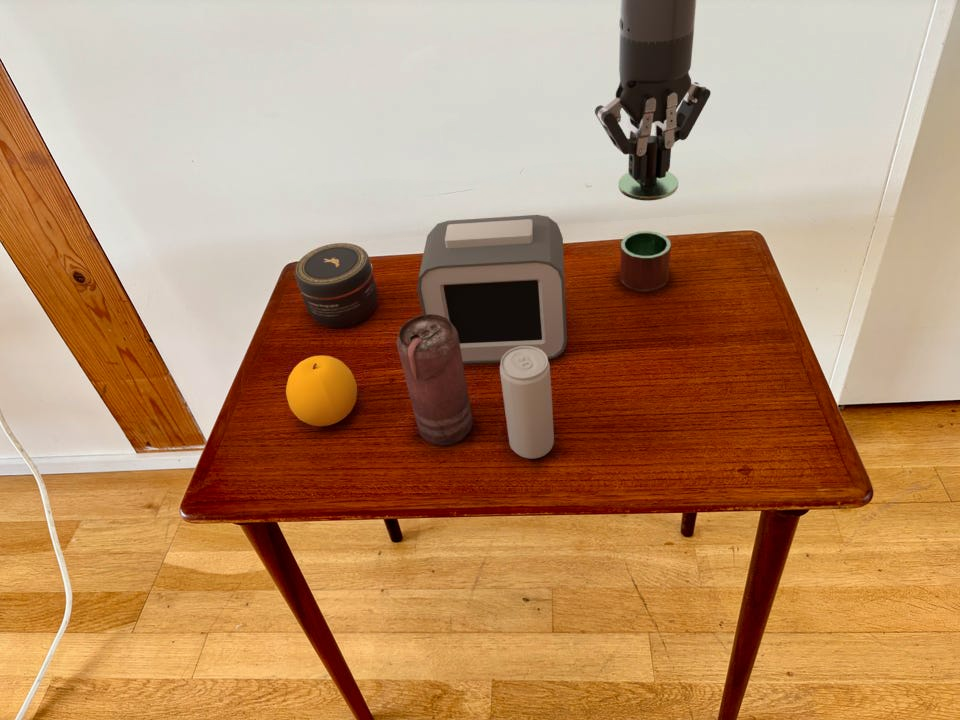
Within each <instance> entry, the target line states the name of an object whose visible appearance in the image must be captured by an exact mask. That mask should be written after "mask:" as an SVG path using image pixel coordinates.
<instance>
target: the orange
mask: <svg viewBox="0 0 960 720" xmlns="http://www.w3.org/2000/svg"><path fill="white" fill-rule="evenodd" d="M286 382H287V383H286V387H285V388H286V389H285V395H286V400H287V402H288V406H289V408H290V411H291V412H292V413H293V414H294V415H295V416H296V418H297V419H298V420H300V421H301V422H304V423H306V424H307V425H310V426H315V427H327V426H331V425H334V424H337V423H339V422H340V421H342V420H343V419H345V418H346V417H347V416H348V415H349V414H350V413H352V410H353V408H354V406H355V405H356V403H357V395H358V385H357V381H356V378H355V376H354V374H353V372H352V370H351V369H350V368H349V367H348V365H346V364H345V363H344V362H343V361H342V360H340V359H338V358H336V357H333V356H331V355H313V356H310V357H307V358H305V359H303V360H302V361H300V362H299V363H298V364H297V365H296V366H295V367H294V368H293V369H292V371H291V372H290V374H289V375H288V379H287V381H286Z"/></svg>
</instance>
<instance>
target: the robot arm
mask: <svg viewBox="0 0 960 720" xmlns="http://www.w3.org/2000/svg"><path fill="white" fill-rule="evenodd" d="M619 7H620V8H619V10H620V11H619V21H618V28H619V51H618V52H619V55H618V57H619V58H618V59H619V60H618V71H619V72H618V73H619V84H618V86H617V89H616V91H615V98H613V100H611V101H610V102H609V103H608V104H606V105H605V106H604V105H602V104H600V105H598V106H596V107H595V109H594V115H595V116H596V118H597V119H598V121H599V123H600V125H601V126H602V128H603V129H604V131H605V132H606V134H607V136H608V138H609V139H610V141H611V142H612V144H613V146H614V147H616V148H617V150H619V151H620V152H621V153H622V154H623V155H628V168H627V169H628V172H629V175H630V176H631V177H632V178H633V179H634V180H635V181H636V182H637V183H638V184H641V183H645V182H646V167H647V154H646V149H647V141H648V136H650V135H652V128H653V125H654V136H657V137H658V138H659V154H658V171H657V178H659V179H660V178H664V177H665V176H666V172H669V171H670V168H671V158H672V157H671V155H672V154H671V153H672V148H673V147H674V145H675V143H677V142H678V141H685V140H687V139H688V137H689V135H690V133H691V132H692V130H693V128H694V127H695V124H696V122H697V120H698V119H699V117H700V115H701V114H702V111H703V109H704V107H705V106H706V104H707V102H708V100H709V99H710V97H711V90H710V89H708V88H707V87H706V86H704V85H703V84H701V83H699V82H697V81H695V82H692V78H691V76H690V73H689V71H690V70H691V69H692V57H693V47H694V34H695V24H696V23H695V22H696V12H697V11H696V10H697V0H620V6H619ZM621 110H624V112H625V114H627V123H626V125H627V129H628V134H627V135H626V134H625V132H624V130H623V129H622V127H621V125H620V124H619V123H621V121H622V114H621ZM628 172H627V173H628Z"/></svg>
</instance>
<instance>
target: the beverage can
mask: <svg viewBox="0 0 960 720" xmlns="http://www.w3.org/2000/svg"><path fill="white" fill-rule="evenodd" d="M499 374H500V382H501V383H500V384H501V389H502V390H501V391H502V398H503V406H504V411H505V412H504V413H505V418H506V428H507V435H508V443H509V446H510V449H511V450H512V451H513V452H514V453H515V454H516V455H518V456H520V457H521V458H524V459H528V460H531V459H532V460H536V459H539V458H540V459H541V458H542V457H544V456H546V455H547V454H548V453H549V452H550V451H551V450H552V448H553V447H554V444H555V432H554V418H553V417H554V415H553V413H554V412H553V395H552V394H553V393H552V381H551V380H552V379H551V366H550V362H549V359H548V358H547V356H546V354H545V353H544V352H543V351H542V350H540V349H539V348H536V347H533V346H520V347H516V348H513V349H511V350H509V351H508V352H506V353H505V354H504V356H503V357H502V359H501V362H500V365H499Z"/></svg>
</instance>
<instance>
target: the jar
mask: <svg viewBox="0 0 960 720" xmlns="http://www.w3.org/2000/svg"><path fill="white" fill-rule="evenodd" d="M294 277H295V280H296V284H297V288H298V290H299V292H300V294H301V297H302V300H303V302H304V306H305V308H306V311H307V312H308V314H309V315H310V317H311V318H312V319H313V321H315V322H316V323H317V324H319V325H321V326H323V327H326V328H330V329H344V328H349V327H352V326H355V325H357V324H361V322H363V321H365V320H366V319H367V318H369V316H371V315H372V314H373V312H374V310H375V309H376V308H377V305H378V287H377V284H376V279H375V276H374V267H373V264H372V263H371V259H370V257H369V255H368V253H367V251H366V250H365V249H364V248H363V247H361V246H359V245H357V244H354V243H347V242H338V243H337V242H336V243H330V244H325V245H322V246H319V247H317V248H315V249H313V250H310V251H309V252H307V253H306V254H304V255H303V256H302V257H301V258H300V259H299V261H298V262H297V264H295V268H294Z"/></svg>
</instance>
